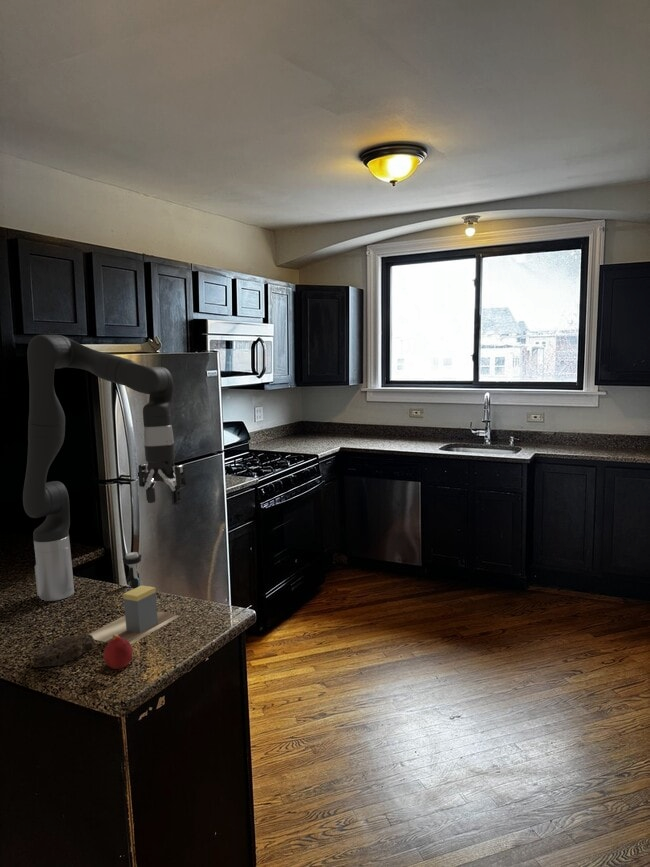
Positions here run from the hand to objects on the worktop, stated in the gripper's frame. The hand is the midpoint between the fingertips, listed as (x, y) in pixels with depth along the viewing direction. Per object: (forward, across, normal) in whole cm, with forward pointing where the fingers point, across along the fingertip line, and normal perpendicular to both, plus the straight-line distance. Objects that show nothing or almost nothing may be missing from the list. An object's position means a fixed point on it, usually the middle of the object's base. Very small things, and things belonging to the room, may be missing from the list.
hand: (163, 503), depth 156 cm
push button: (+28, -22, +8) cm, 37 cm away
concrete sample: (+28, -2, -33) cm, 43 cm away
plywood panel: (+28, +2, -16) cm, 32 cm away
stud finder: (+27, +5, -16) cm, 31 cm away
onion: (+28, +14, -32) cm, 45 cm away
